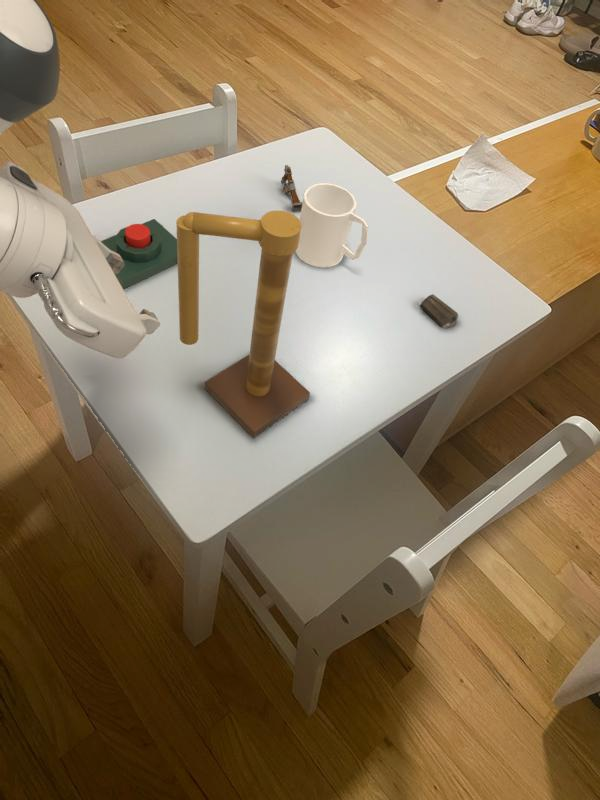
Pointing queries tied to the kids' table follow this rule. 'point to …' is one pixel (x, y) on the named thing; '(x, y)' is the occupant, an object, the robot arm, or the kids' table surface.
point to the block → (439, 311)
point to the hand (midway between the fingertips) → (135, 294)
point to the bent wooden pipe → (272, 232)
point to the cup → (328, 225)
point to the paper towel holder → (261, 359)
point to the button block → (144, 254)
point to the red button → (137, 236)
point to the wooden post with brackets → (291, 188)
